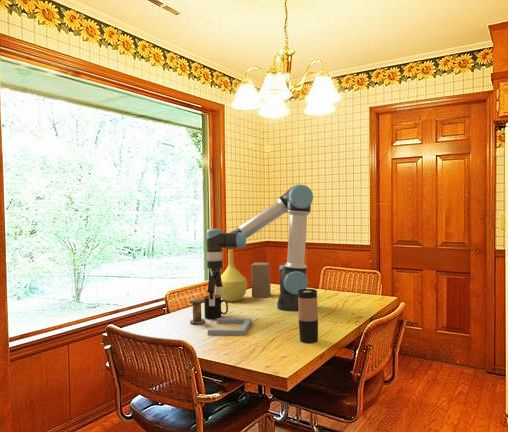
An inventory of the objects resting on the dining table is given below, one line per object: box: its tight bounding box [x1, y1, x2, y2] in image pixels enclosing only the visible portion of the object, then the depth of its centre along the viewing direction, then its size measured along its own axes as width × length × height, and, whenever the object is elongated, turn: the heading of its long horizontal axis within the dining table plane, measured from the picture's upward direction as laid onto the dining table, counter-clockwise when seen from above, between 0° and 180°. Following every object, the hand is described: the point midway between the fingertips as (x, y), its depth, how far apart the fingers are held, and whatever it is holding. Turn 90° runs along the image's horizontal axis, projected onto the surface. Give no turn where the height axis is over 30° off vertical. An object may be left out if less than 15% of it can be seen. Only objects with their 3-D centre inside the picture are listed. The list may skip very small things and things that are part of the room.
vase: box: [221, 249, 248, 303], centre depth 247 cm, size 18×18×30 cm
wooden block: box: [250, 262, 272, 299], centre depth 256 cm, size 10×10×20 cm
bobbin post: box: [189, 297, 206, 326], centre depth 199 cm, size 7×7×11 cm
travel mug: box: [297, 288, 319, 344], centre depth 167 cm, size 8×8×20 cm
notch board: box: [207, 317, 253, 336], centre depth 188 cm, size 16×20×2 cm
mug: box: [203, 294, 229, 320], centre depth 208 cm, size 8×12×10 cm
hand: (215, 302), depth 208 cm, fingers open, 13 cm apart
